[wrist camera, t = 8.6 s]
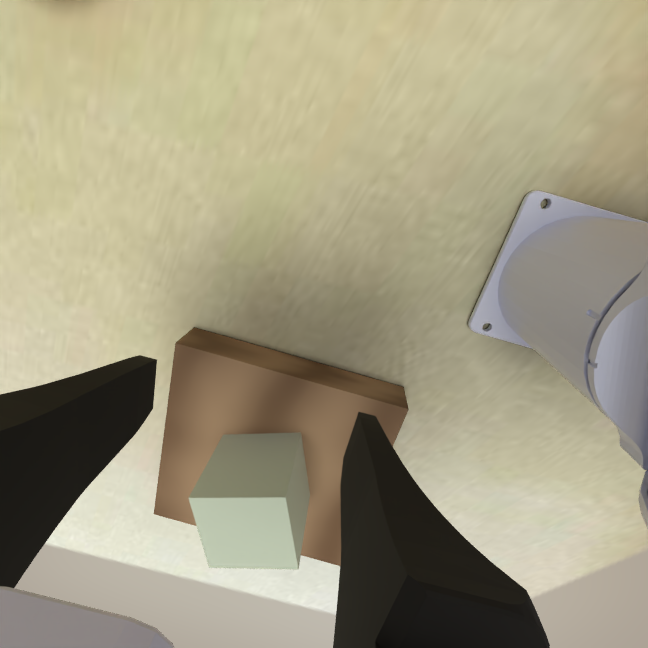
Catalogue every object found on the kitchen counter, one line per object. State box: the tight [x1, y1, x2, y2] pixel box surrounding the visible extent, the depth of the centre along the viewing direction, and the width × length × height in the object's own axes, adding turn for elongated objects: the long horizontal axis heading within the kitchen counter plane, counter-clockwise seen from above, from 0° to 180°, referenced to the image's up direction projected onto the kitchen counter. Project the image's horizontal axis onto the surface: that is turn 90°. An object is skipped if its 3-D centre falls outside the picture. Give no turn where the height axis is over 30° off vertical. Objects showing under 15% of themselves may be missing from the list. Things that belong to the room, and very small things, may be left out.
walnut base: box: [154, 327, 408, 566], centre depth 25 cm, size 14×14×2 cm
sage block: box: [189, 433, 310, 569], centre depth 21 cm, size 5×5×5 cm
